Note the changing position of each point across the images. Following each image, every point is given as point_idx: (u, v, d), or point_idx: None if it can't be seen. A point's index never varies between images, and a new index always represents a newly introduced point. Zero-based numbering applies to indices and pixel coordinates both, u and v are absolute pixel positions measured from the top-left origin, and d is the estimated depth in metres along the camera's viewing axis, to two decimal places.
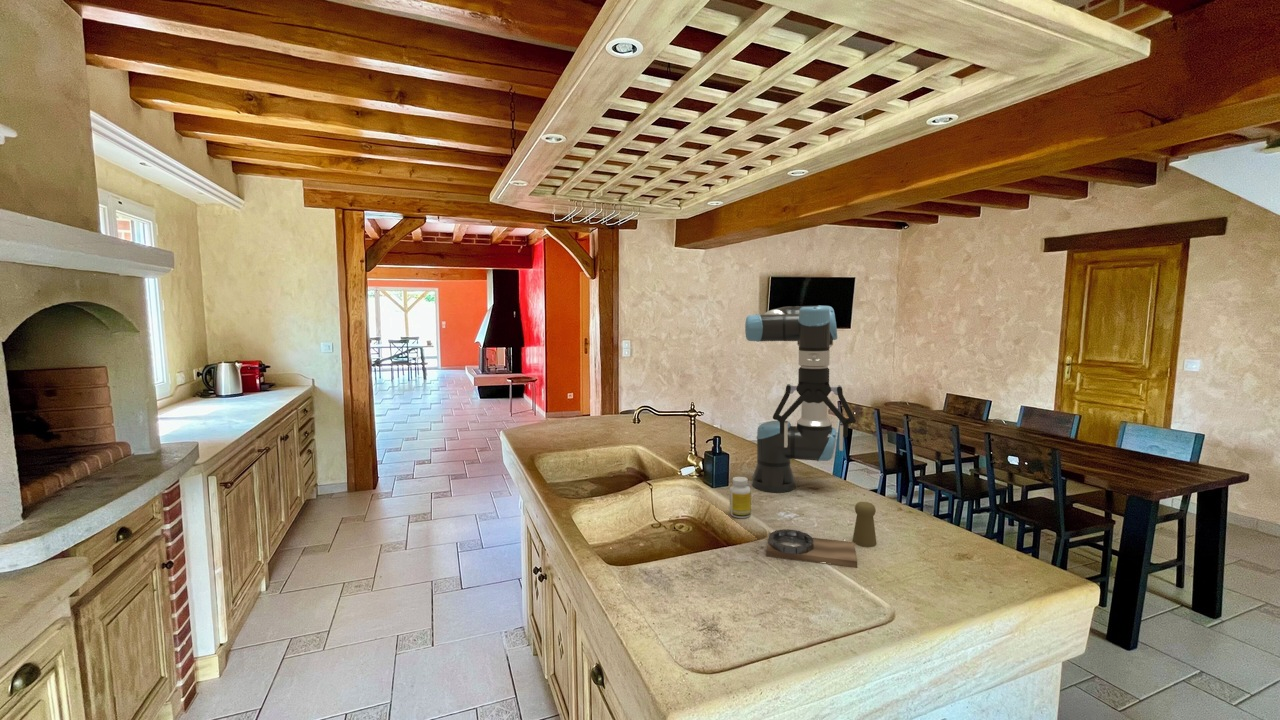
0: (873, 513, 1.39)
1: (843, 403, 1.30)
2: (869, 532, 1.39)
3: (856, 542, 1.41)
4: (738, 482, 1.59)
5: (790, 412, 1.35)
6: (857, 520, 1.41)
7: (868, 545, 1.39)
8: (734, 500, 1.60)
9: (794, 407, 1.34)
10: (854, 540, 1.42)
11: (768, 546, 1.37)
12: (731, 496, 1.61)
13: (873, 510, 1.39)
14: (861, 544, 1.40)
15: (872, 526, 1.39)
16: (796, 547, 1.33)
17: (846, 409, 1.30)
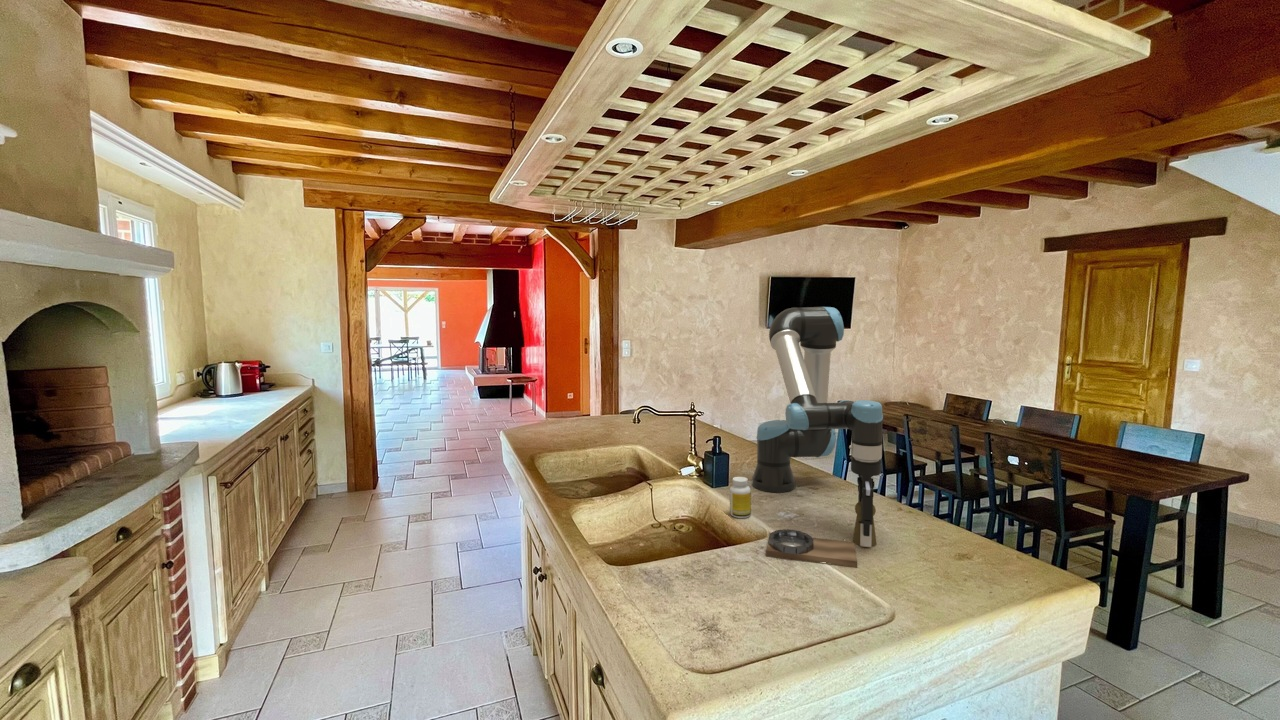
0: (873, 513, 1.39)
1: (862, 502, 1.36)
2: None
3: (856, 542, 1.41)
4: (738, 482, 1.59)
5: (859, 501, 1.44)
6: (857, 520, 1.41)
7: None
8: (734, 500, 1.60)
9: (859, 495, 1.44)
10: (854, 540, 1.42)
11: (768, 546, 1.37)
12: (731, 496, 1.61)
13: (873, 510, 1.39)
14: None
15: (872, 526, 1.39)
16: (796, 547, 1.33)
17: (862, 509, 1.36)
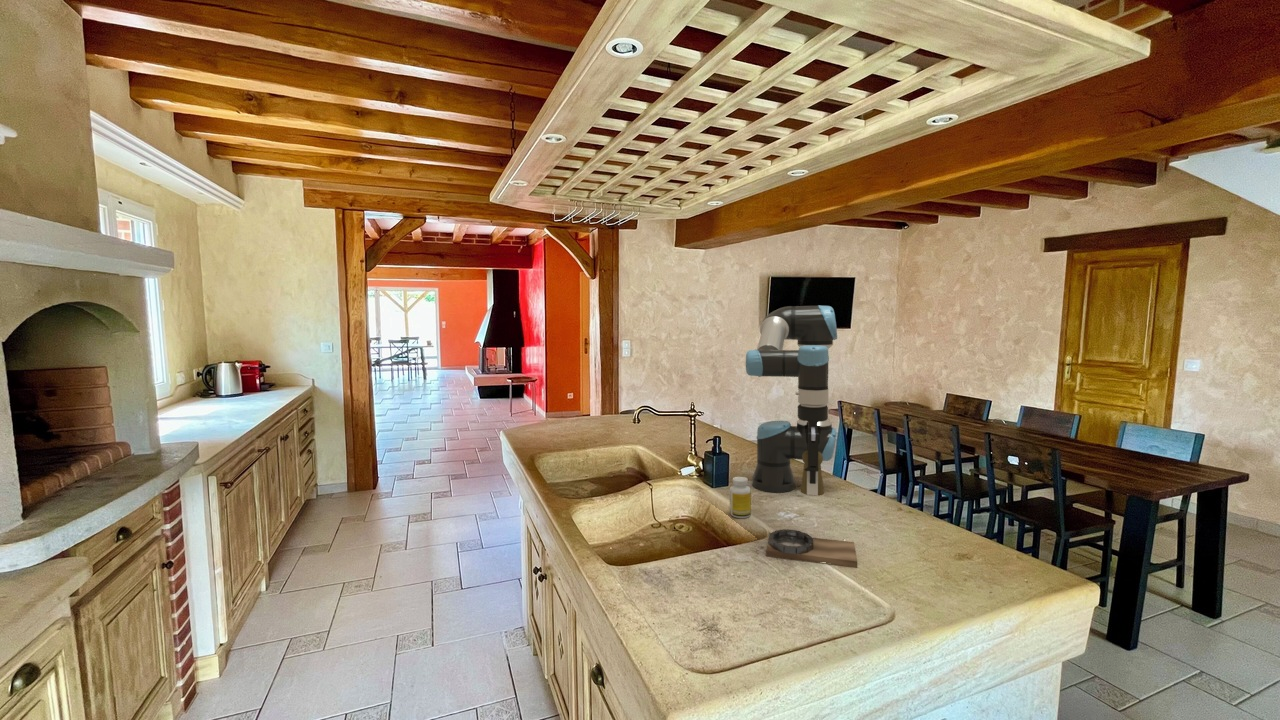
0: (820, 461, 1.35)
1: (808, 448, 1.31)
2: None
3: (803, 491, 1.36)
4: (738, 482, 1.59)
5: (807, 450, 1.40)
6: (804, 469, 1.37)
7: None
8: (734, 500, 1.60)
9: (807, 444, 1.40)
10: (801, 490, 1.37)
11: (768, 546, 1.37)
12: (731, 496, 1.61)
13: (820, 457, 1.35)
14: None
15: (819, 474, 1.35)
16: (796, 547, 1.33)
17: (808, 455, 1.32)
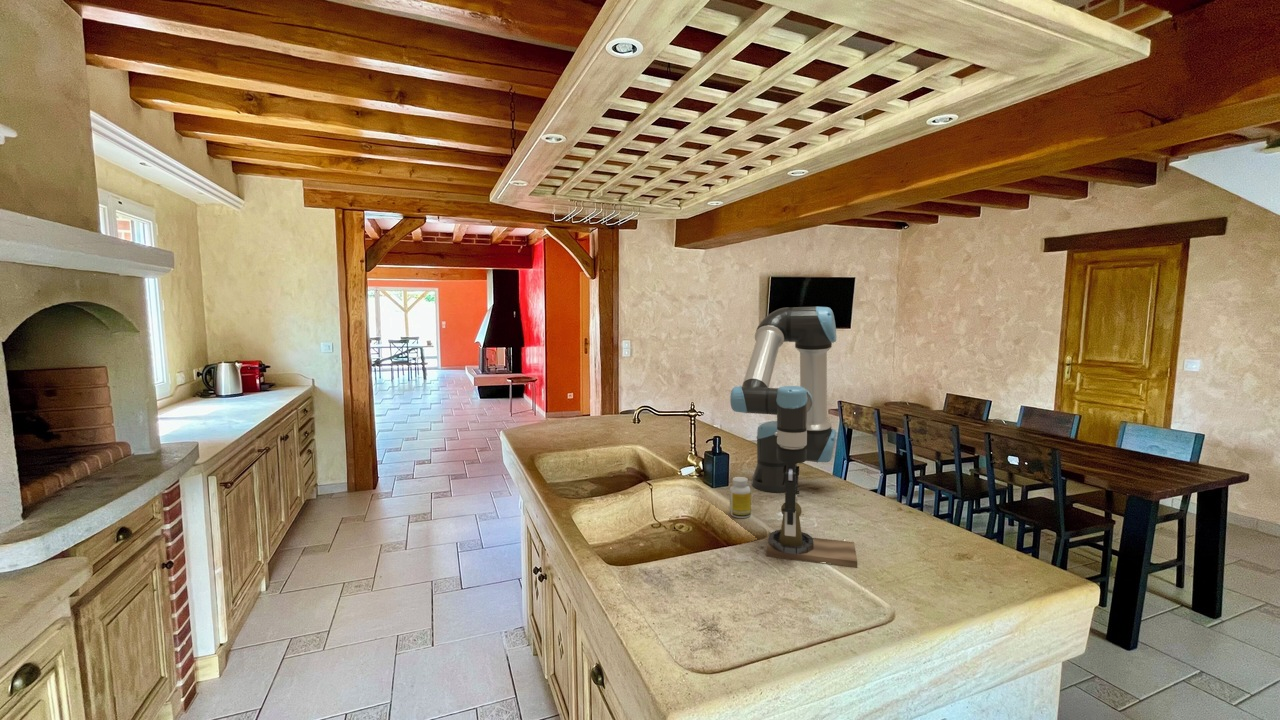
0: (798, 514, 1.34)
1: (785, 489, 1.31)
2: None
3: (781, 542, 1.37)
4: (738, 482, 1.59)
5: None
6: (783, 520, 1.37)
7: None
8: (734, 500, 1.60)
9: None
10: (780, 540, 1.38)
11: (768, 546, 1.37)
12: (731, 496, 1.61)
13: (798, 511, 1.34)
14: None
15: (797, 527, 1.35)
16: (796, 547, 1.33)
17: (785, 495, 1.30)
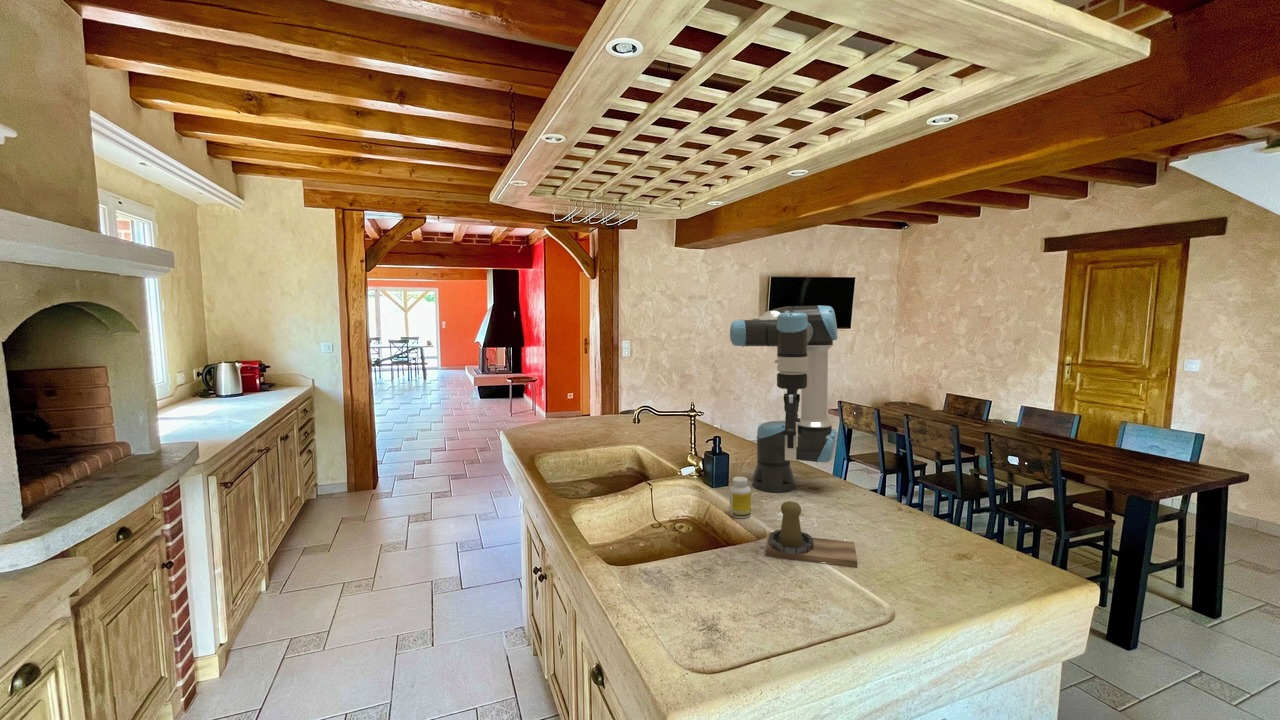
0: (798, 513, 1.35)
1: None
2: (794, 532, 1.36)
3: (782, 543, 1.37)
4: (738, 482, 1.59)
5: None
6: (783, 520, 1.38)
7: None
8: (734, 500, 1.60)
9: None
10: (780, 541, 1.38)
11: (768, 546, 1.37)
12: (731, 496, 1.61)
13: (798, 510, 1.35)
14: None
15: (797, 526, 1.36)
16: (796, 547, 1.33)
17: None
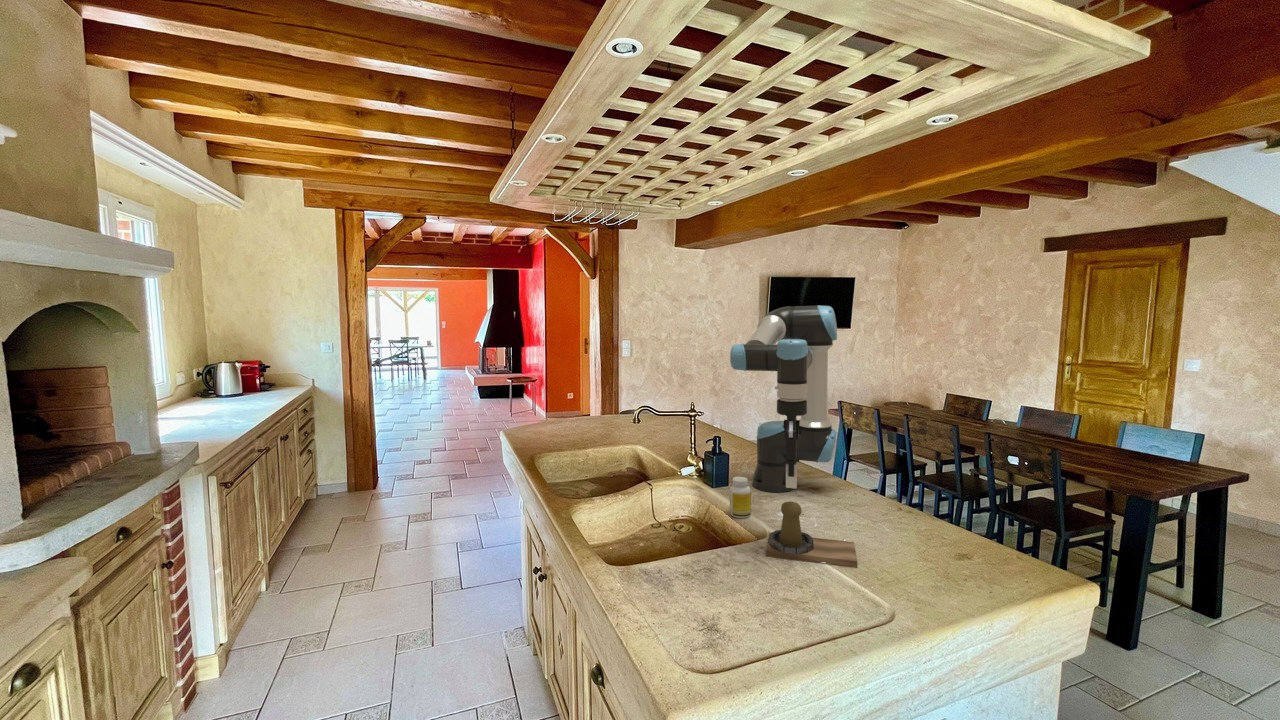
0: (798, 513, 1.35)
1: (786, 443, 1.32)
2: (794, 532, 1.36)
3: (782, 543, 1.37)
4: (738, 482, 1.59)
5: None
6: (783, 520, 1.38)
7: None
8: (734, 500, 1.60)
9: None
10: (780, 541, 1.38)
11: (768, 546, 1.37)
12: (731, 496, 1.61)
13: (798, 510, 1.35)
14: None
15: (797, 526, 1.36)
16: (796, 547, 1.33)
17: (786, 449, 1.33)
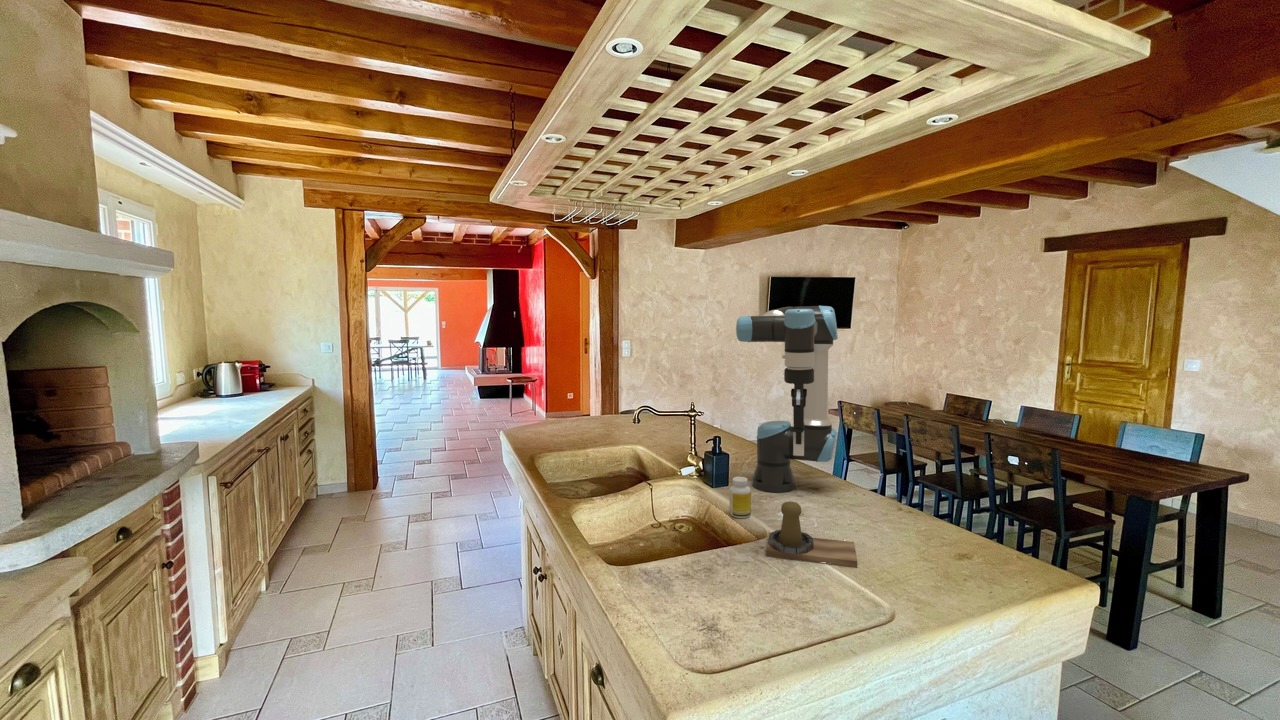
0: (798, 513, 1.35)
1: None
2: (794, 532, 1.36)
3: (782, 543, 1.37)
4: (738, 482, 1.59)
5: None
6: (783, 520, 1.38)
7: None
8: (734, 500, 1.60)
9: None
10: (780, 541, 1.38)
11: (768, 546, 1.37)
12: (731, 496, 1.61)
13: (798, 510, 1.35)
14: None
15: (797, 526, 1.36)
16: (796, 547, 1.33)
17: None
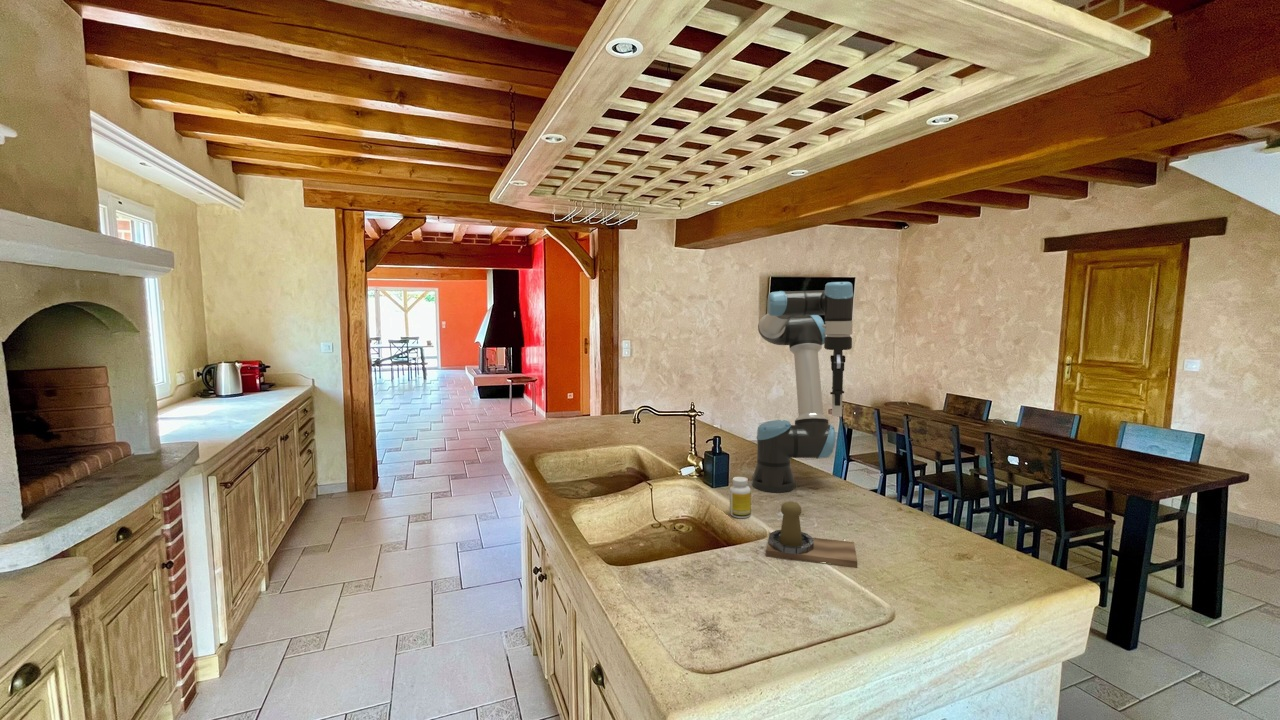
0: (798, 513, 1.35)
1: (833, 374, 1.48)
2: (794, 532, 1.36)
3: (782, 543, 1.37)
4: (738, 482, 1.59)
5: None
6: (783, 520, 1.38)
7: None
8: (734, 500, 1.60)
9: None
10: (780, 541, 1.38)
11: (768, 546, 1.37)
12: (731, 496, 1.61)
13: (798, 510, 1.35)
14: None
15: (797, 526, 1.36)
16: (796, 547, 1.33)
17: (833, 380, 1.48)
